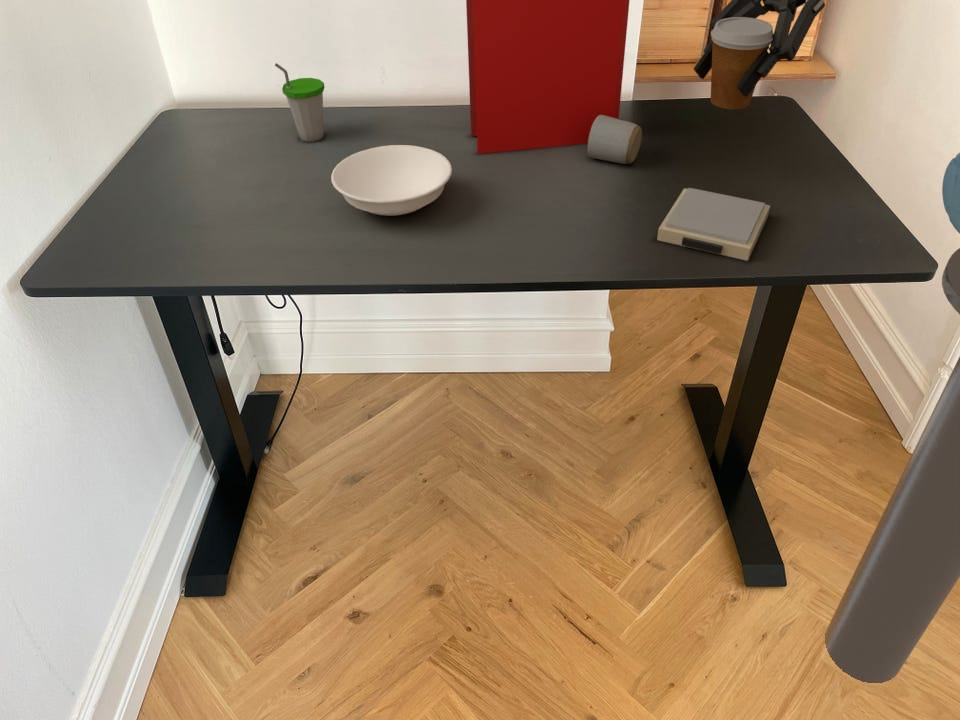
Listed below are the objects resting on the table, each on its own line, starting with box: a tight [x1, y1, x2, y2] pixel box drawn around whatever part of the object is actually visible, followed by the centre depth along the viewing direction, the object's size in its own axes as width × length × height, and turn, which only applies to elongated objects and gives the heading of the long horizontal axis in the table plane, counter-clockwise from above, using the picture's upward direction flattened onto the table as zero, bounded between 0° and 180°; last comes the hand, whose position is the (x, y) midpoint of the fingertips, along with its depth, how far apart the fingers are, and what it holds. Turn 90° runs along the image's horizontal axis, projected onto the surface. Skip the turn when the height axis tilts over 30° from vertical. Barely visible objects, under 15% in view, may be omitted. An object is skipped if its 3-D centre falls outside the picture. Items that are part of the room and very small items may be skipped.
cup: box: [274, 62, 325, 143], centre depth 149 cm, size 8×8×15 cm
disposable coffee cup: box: [709, 17, 774, 110], centre depth 124 cm, size 10×10×12 cm
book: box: [465, 0, 631, 155], centre depth 140 cm, size 27×8×32 cm, turn 99°
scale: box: [656, 187, 771, 262], centre depth 123 cm, size 14×15×3 cm
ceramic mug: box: [587, 115, 643, 165], centre depth 141 cm, size 11×8×8 cm
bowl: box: [330, 144, 453, 217], centre depth 130 cm, size 20×20×6 cm
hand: (719, 82), depth 124 cm, fingers closed on disposable coffee cup, 9 cm apart
